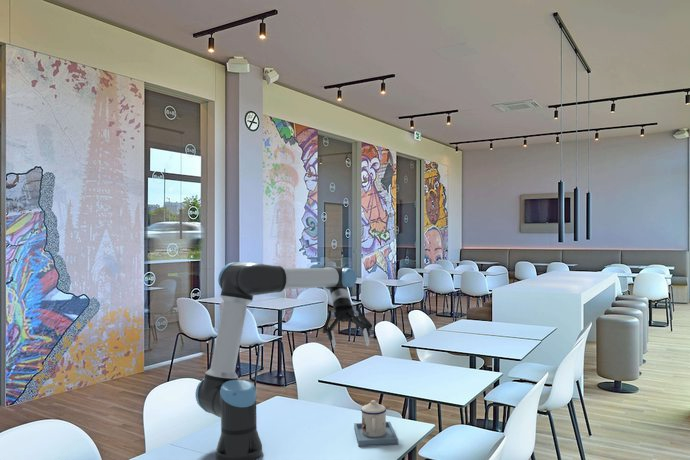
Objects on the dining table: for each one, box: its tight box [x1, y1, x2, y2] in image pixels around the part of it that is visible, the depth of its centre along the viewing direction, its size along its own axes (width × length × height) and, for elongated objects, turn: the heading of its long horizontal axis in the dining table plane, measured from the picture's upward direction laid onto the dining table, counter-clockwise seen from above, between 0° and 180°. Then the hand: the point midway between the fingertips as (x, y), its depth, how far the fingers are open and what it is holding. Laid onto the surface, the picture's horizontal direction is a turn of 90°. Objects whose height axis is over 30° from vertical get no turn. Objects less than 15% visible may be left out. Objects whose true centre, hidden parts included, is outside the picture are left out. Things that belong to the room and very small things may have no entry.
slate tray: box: [353, 421, 399, 447], centre depth 186 cm, size 14×17×2 cm
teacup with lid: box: [360, 399, 387, 437], centre depth 186 cm, size 12×9×12 cm
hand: (351, 345), depth 202 cm, fingers open, 13 cm apart
